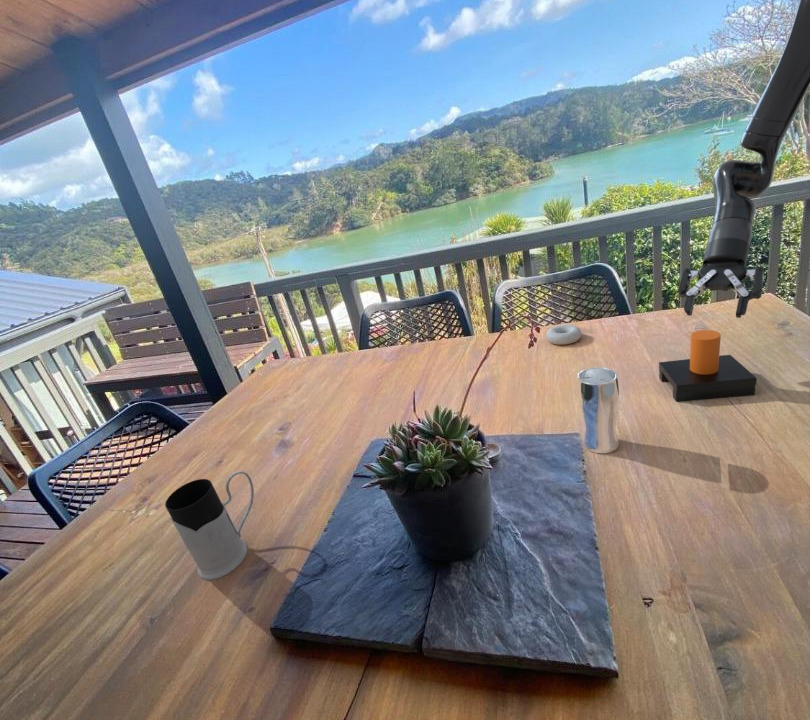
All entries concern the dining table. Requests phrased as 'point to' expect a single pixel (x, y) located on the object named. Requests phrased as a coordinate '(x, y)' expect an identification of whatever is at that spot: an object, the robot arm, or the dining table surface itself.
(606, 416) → the silver metal tumbler
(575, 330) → the donut
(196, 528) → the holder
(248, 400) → the dining table surface
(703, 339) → the candle
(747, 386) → the black display riser
